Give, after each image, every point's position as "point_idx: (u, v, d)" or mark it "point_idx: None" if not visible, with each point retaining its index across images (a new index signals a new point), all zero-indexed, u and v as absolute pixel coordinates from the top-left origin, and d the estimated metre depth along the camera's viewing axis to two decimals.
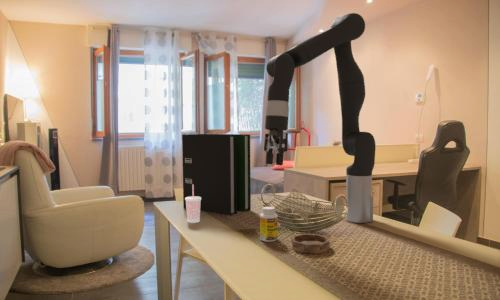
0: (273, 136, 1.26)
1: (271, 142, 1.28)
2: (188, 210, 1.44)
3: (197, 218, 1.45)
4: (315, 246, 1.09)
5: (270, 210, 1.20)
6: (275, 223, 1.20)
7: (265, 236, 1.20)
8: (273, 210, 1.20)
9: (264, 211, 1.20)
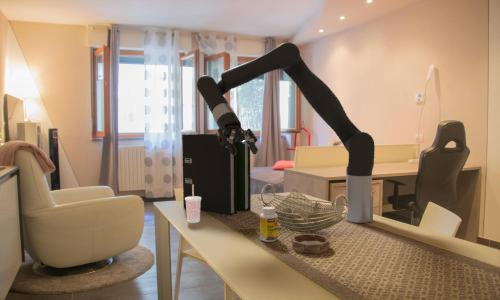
0: None
1: None
2: (188, 210, 1.44)
3: (197, 218, 1.45)
4: (315, 246, 1.09)
5: (270, 210, 1.20)
6: (275, 223, 1.20)
7: (265, 236, 1.20)
8: (273, 210, 1.20)
9: (264, 211, 1.20)
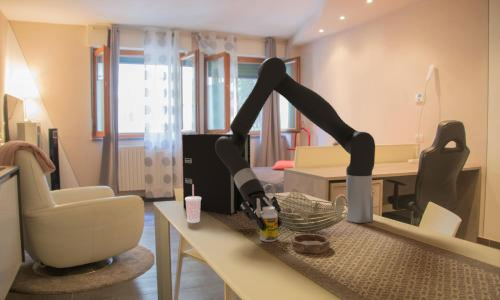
0: None
1: None
2: (188, 210, 1.44)
3: (197, 218, 1.45)
4: (315, 246, 1.09)
5: (270, 210, 1.20)
6: (275, 223, 1.20)
7: (265, 236, 1.20)
8: (273, 210, 1.20)
9: (264, 211, 1.20)
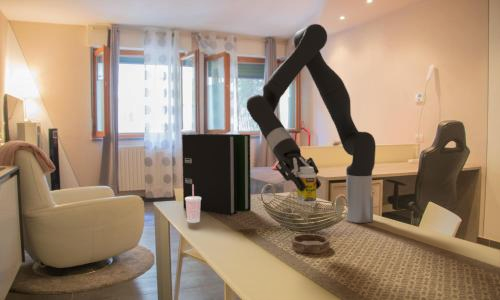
0: None
1: None
2: (188, 210, 1.44)
3: (197, 218, 1.45)
4: (315, 246, 1.09)
5: (309, 169, 1.11)
6: (314, 183, 1.12)
7: (304, 197, 1.11)
8: (312, 169, 1.12)
9: (302, 170, 1.12)
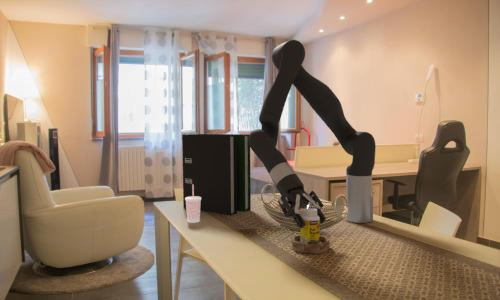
0: None
1: None
2: (188, 210, 1.44)
3: (197, 218, 1.45)
4: (315, 246, 1.09)
5: (312, 212, 1.12)
6: (318, 226, 1.12)
7: (307, 240, 1.11)
8: (315, 212, 1.12)
9: (306, 213, 1.12)
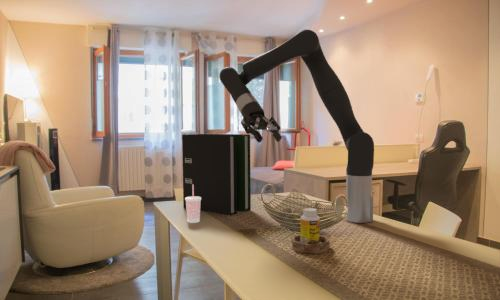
0: None
1: None
2: (188, 210, 1.44)
3: (197, 218, 1.45)
4: (315, 246, 1.09)
5: (312, 212, 1.12)
6: (317, 226, 1.12)
7: (307, 240, 1.11)
8: (315, 212, 1.12)
9: (305, 213, 1.12)
